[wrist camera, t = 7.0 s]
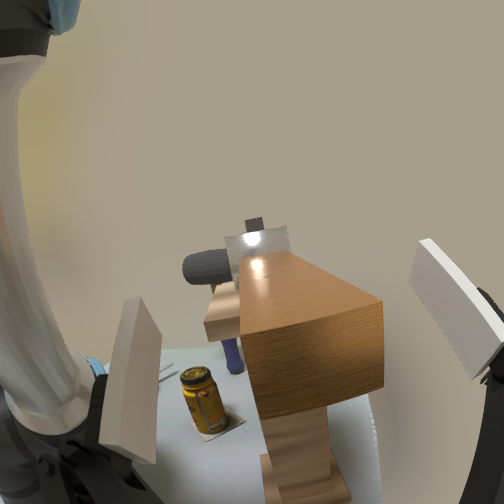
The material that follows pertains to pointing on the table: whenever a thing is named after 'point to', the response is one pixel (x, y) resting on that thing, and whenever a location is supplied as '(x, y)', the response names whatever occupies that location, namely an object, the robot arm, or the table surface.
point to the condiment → (206, 404)
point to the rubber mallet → (215, 273)
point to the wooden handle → (301, 327)
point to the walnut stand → (285, 431)
